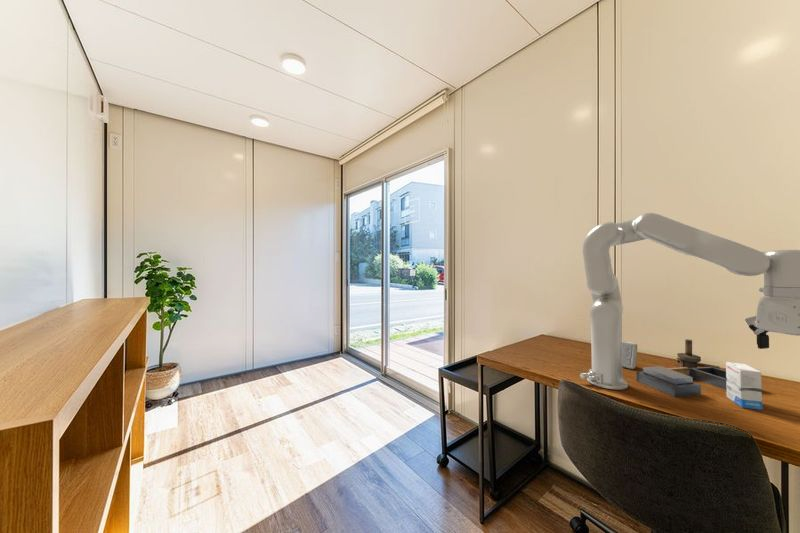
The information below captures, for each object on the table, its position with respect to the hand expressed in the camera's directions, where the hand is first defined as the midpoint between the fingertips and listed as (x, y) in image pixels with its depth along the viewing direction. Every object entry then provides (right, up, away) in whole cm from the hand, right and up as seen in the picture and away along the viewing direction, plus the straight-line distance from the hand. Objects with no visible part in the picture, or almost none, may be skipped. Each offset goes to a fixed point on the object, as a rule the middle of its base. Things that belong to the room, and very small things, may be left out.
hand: (786, 353), depth 85 cm
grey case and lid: (-3, -19, +23) cm, 30 cm away
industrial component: (+12, -18, +40) cm, 46 cm away
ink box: (-1, -19, +9) cm, 21 cm away
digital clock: (-15, -19, +47) cm, 53 cm away
